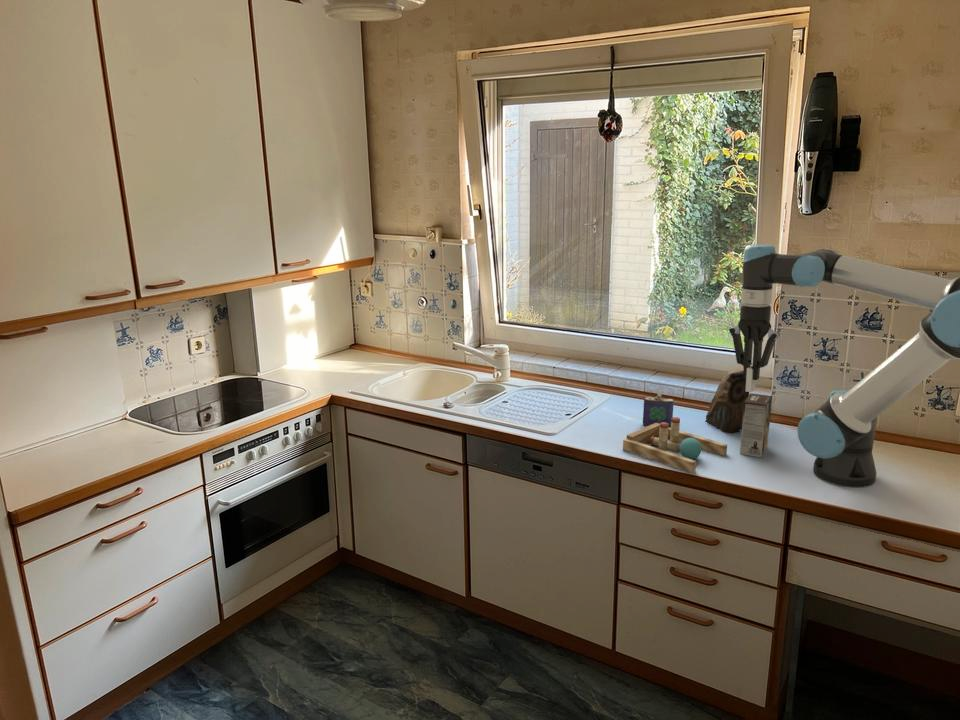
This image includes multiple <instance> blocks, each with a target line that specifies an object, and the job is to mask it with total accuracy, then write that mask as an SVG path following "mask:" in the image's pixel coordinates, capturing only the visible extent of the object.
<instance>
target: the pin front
mask: <svg viewBox="0 0 960 720" xmlns="http://www.w3.org/2000/svg"><path fill="white" fill-rule="evenodd" d="M649 444H650V445H652V446H656V447H657V448H658V447H659V437H658V438H656V437H653V436H652V437H651V439H650V442H649ZM680 444H681V443H679V444H677V443H674V442H670V440H667V449H669V450H672V451H675V452H679V451H680Z"/></svg>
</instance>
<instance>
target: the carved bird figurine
mask: <svg viewBox="0 0 960 720" xmlns="http://www.w3.org/2000/svg"><path fill="white" fill-rule="evenodd" d="M743 371H744V367H743V365H741V364H740V365H738V366H735V367H733V368H732V369H731V370H730V371H728V372H727V373H726V374H724V376H723V377H722V379H721V381H720V382H719V384H718V387H717V388H716V390H715V393H714V395H713V397H712V399H711V401H710V404H709V408H708V410H707V413H706V415H705V420H704V421H705V422H704V423H706V422H707V424H708V423H709V425H710V424H711V426H712V427H714V428H715V429H717V430H719V429H720V430H719V431H721V432H723V433H726V434H729V433H730V434H731V435H732V434H737V433H742V430H741V429H742V423H743V412H744V402H745V400H746V399H747V397H748V396H749V394H750V392H746V391H745V390H746V378H744V377H743ZM730 434H729V435H730Z"/></svg>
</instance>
